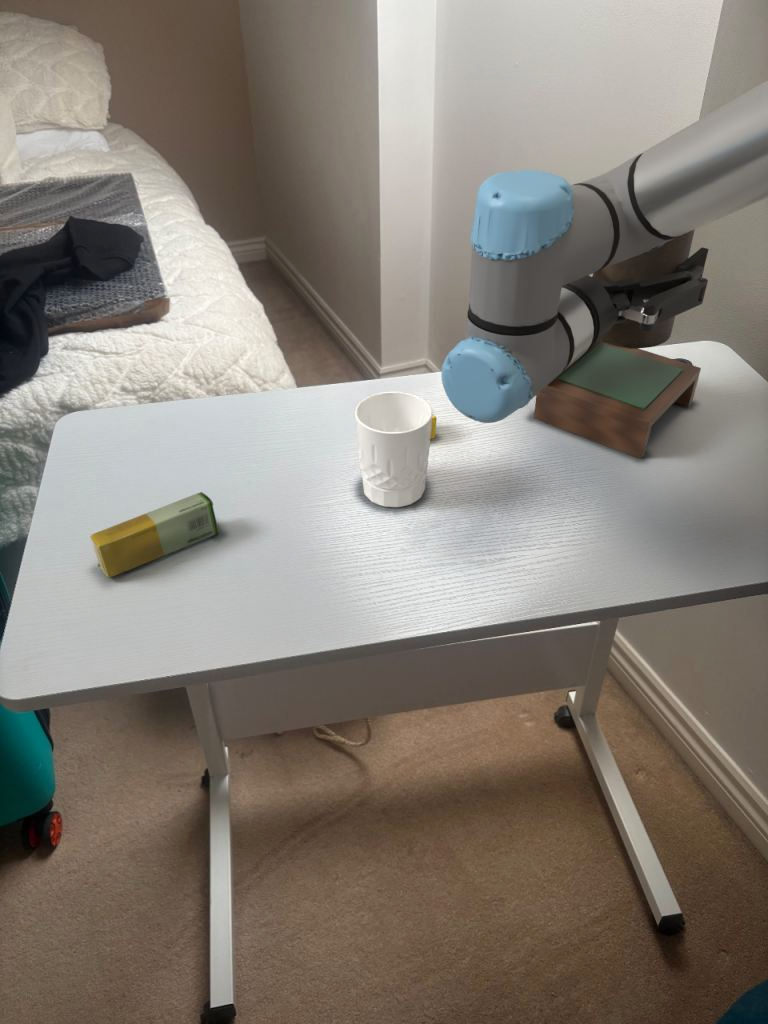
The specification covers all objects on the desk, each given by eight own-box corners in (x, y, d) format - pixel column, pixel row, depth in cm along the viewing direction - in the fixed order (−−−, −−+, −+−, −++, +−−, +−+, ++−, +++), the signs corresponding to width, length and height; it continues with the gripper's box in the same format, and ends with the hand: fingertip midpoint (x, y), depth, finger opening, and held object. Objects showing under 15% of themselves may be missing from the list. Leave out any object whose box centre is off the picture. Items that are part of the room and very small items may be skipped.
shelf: (692, 403, 104) (705, 353, 99) (640, 458, 95) (652, 406, 90) (590, 369, 110) (598, 320, 106) (533, 418, 101) (539, 367, 97)
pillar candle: (619, 357, 90) (646, 219, 80) (567, 320, 97) (586, 189, 87) (690, 338, 93) (723, 203, 84) (634, 303, 100) (659, 175, 90)
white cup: (417, 518, 87) (419, 439, 80) (347, 503, 89) (343, 425, 82) (438, 475, 93) (441, 398, 86) (371, 462, 95) (370, 386, 88)
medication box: (209, 522, 87) (202, 489, 85) (221, 533, 85) (214, 500, 83) (98, 566, 81) (87, 533, 79) (107, 580, 79) (97, 546, 77)
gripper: (461, 326, 87) (564, 257, 100) (663, 393, 76) (747, 306, 90) (465, 257, 82) (572, 195, 96) (681, 318, 71) (767, 238, 85)
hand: (657, 249), depth 93 cm, fingers closed on pillar candle, 10 cm apart
